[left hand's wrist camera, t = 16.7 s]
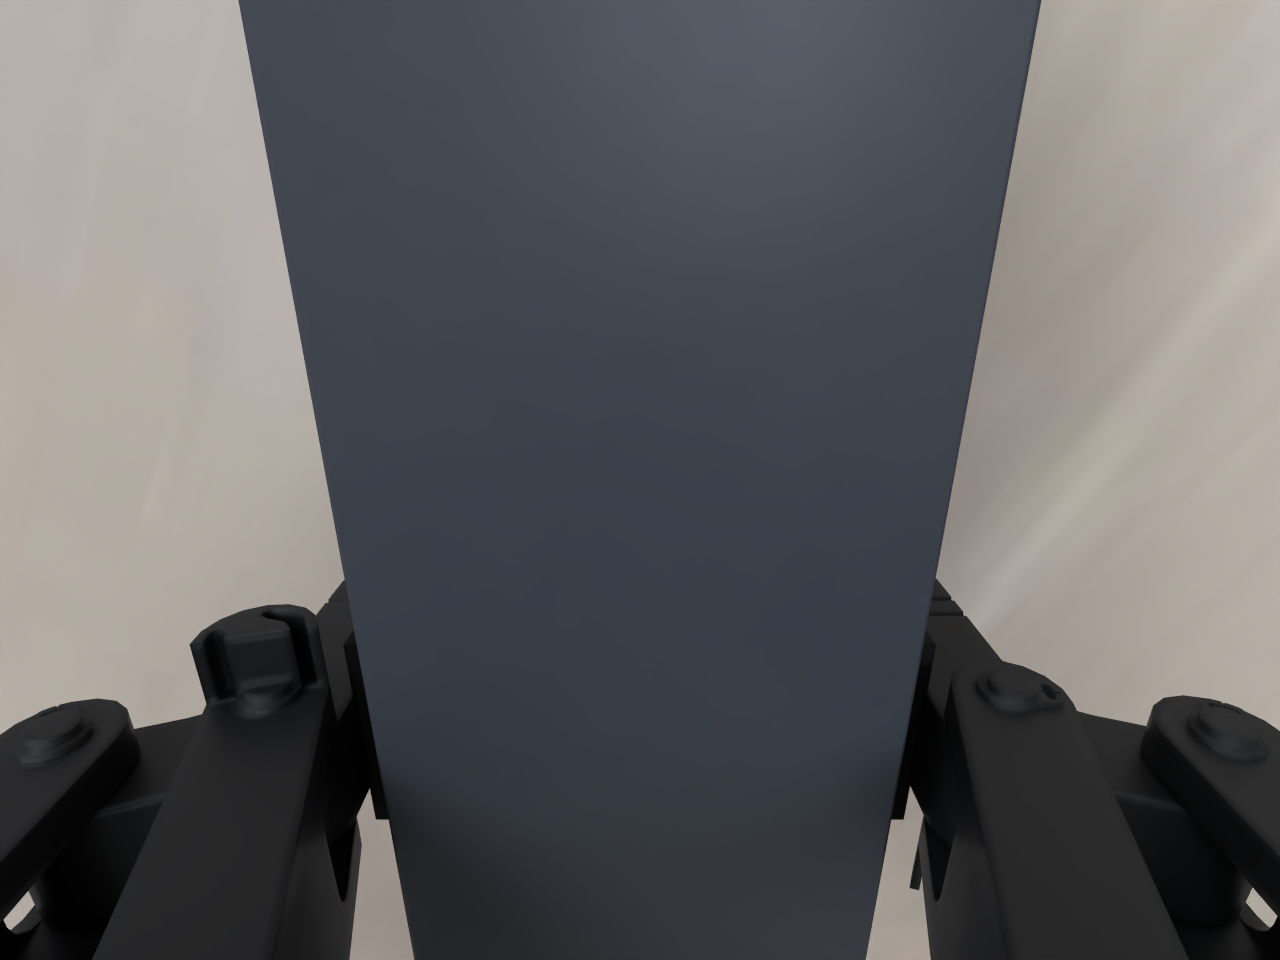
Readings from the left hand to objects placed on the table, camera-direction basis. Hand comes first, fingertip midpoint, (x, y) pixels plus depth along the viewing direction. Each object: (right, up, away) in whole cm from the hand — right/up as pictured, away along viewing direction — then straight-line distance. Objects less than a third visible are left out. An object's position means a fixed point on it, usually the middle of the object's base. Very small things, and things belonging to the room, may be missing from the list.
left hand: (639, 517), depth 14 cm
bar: (0, +7, -2) cm, 8 cm away
